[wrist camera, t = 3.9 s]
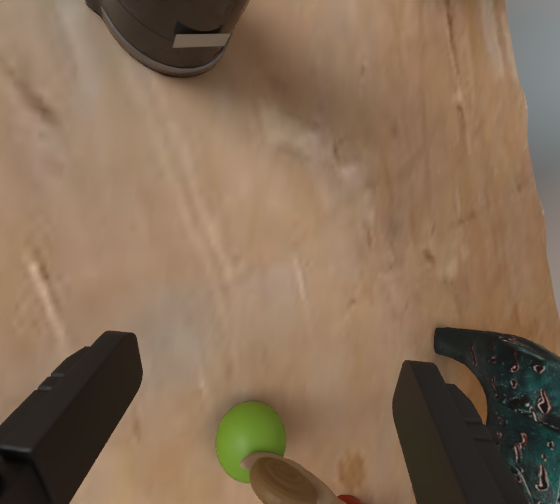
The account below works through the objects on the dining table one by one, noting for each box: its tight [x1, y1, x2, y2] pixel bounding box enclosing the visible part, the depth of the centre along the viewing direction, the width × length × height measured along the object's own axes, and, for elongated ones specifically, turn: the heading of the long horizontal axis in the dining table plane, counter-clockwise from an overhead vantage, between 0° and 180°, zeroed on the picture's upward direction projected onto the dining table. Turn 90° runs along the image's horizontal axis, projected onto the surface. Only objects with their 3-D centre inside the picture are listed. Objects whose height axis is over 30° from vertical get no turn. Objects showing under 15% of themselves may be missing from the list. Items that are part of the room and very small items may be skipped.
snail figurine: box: [216, 401, 346, 504], centre depth 21 cm, size 5×6×12 cm
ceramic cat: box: [434, 327, 560, 504], centre depth 30 cm, size 20×6×20 cm, turn 176°
